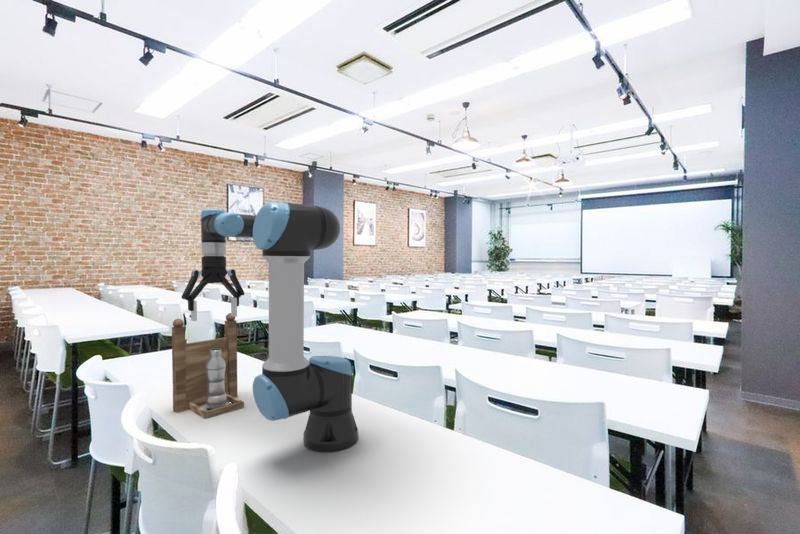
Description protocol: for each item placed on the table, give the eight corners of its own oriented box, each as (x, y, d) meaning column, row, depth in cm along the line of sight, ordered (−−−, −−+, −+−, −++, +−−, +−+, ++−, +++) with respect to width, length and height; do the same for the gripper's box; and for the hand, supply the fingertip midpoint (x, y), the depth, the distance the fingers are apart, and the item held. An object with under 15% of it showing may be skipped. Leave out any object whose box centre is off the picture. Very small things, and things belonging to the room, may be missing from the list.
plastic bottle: (219, 412, 136) (218, 352, 136) (201, 410, 138) (200, 351, 137) (230, 405, 143) (230, 347, 142) (213, 403, 144) (212, 346, 144)
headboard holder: (255, 404, 144) (254, 316, 143) (191, 422, 128) (190, 323, 127) (233, 394, 154) (232, 312, 153) (172, 410, 138) (171, 318, 137)
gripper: (243, 255, 151) (244, 313, 151) (169, 255, 132) (170, 321, 132) (253, 255, 146) (254, 315, 146) (179, 255, 127) (180, 324, 127)
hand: (214, 318), depth 139 cm, fingers open, 13 cm apart
